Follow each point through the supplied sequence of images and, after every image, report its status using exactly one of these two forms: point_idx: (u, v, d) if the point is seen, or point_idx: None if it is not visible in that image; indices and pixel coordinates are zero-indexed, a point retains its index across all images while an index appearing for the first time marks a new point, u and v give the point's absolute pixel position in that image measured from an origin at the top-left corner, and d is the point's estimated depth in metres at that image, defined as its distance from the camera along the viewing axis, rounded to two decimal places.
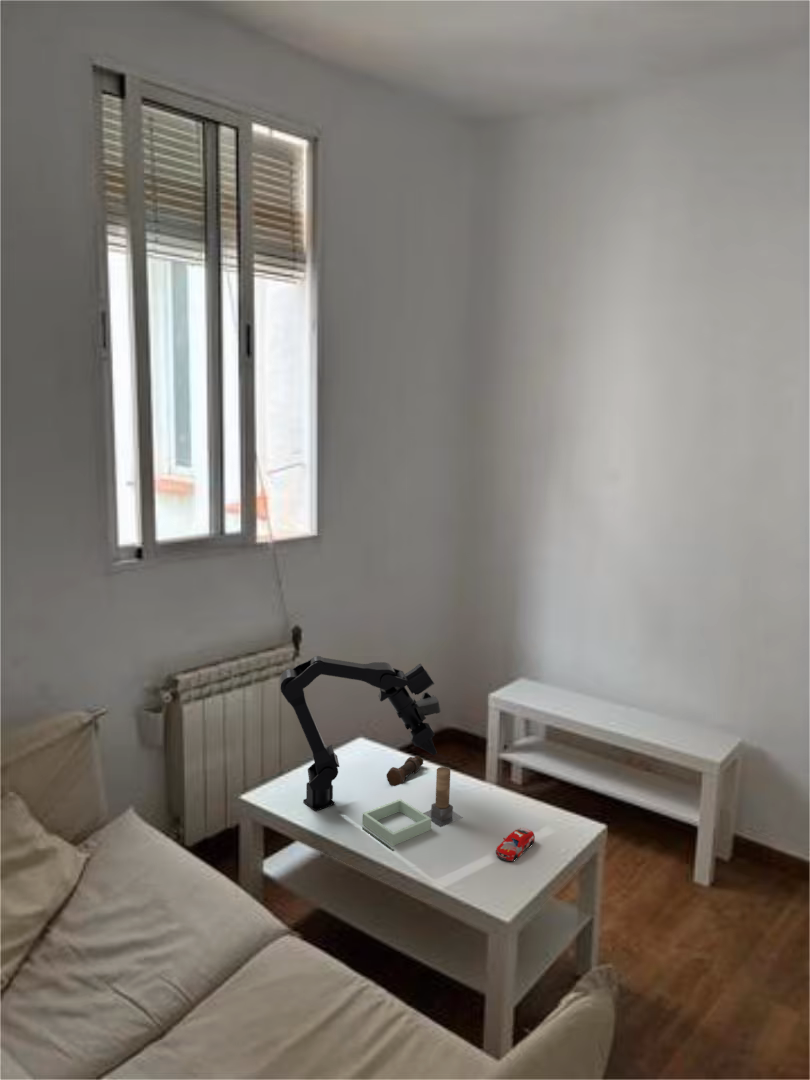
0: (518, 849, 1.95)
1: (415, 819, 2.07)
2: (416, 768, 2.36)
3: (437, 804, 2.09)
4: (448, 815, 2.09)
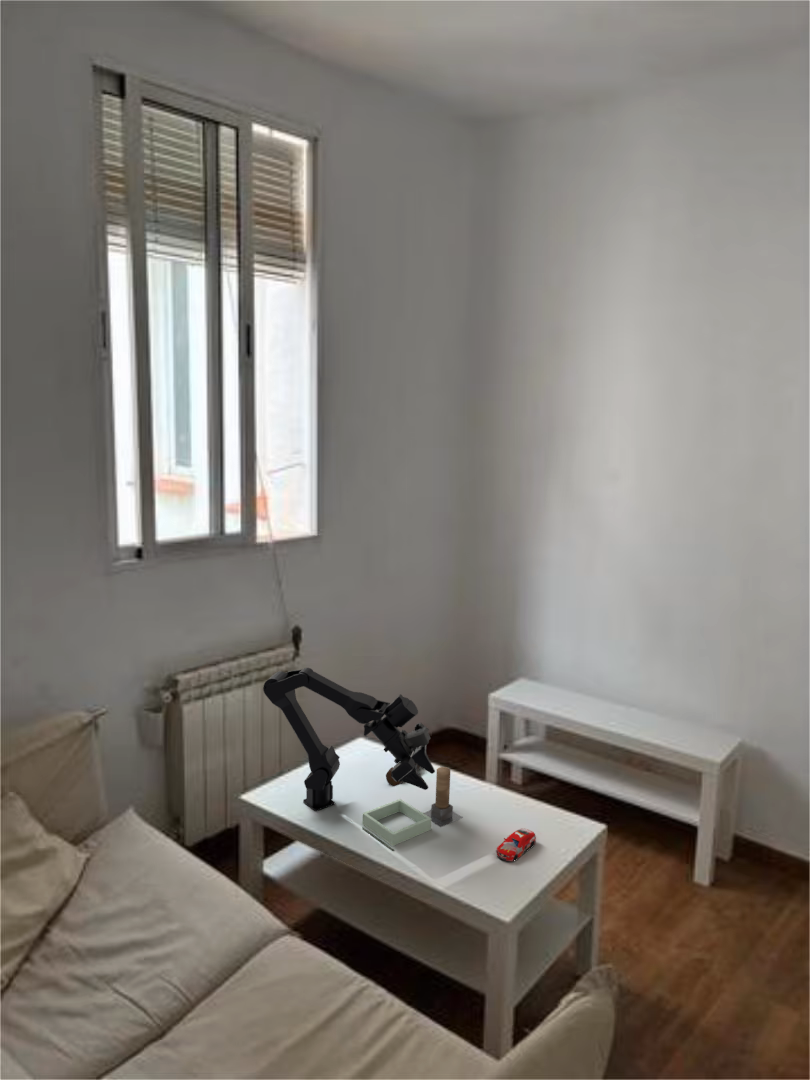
0: (518, 849, 1.95)
1: (415, 819, 2.07)
2: None
3: (437, 804, 2.09)
4: (448, 815, 2.09)
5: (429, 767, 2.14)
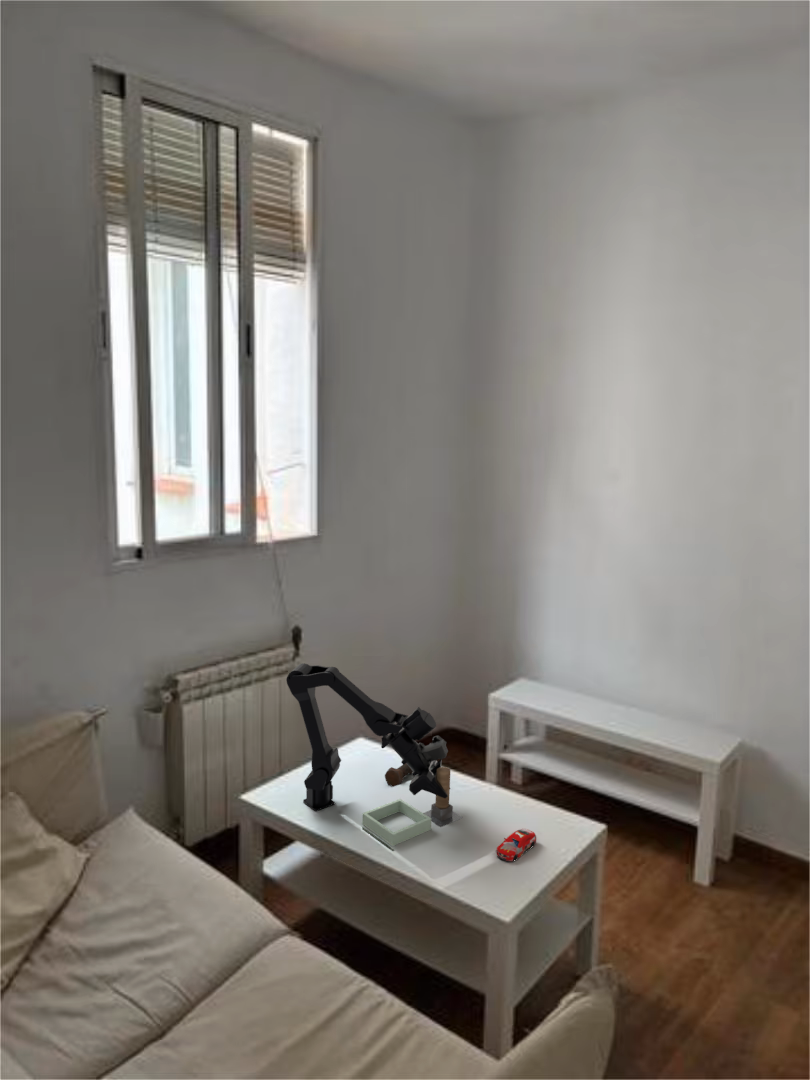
0: (518, 850, 1.95)
1: (415, 819, 2.07)
2: None
3: (437, 804, 2.09)
4: (448, 815, 2.09)
5: None
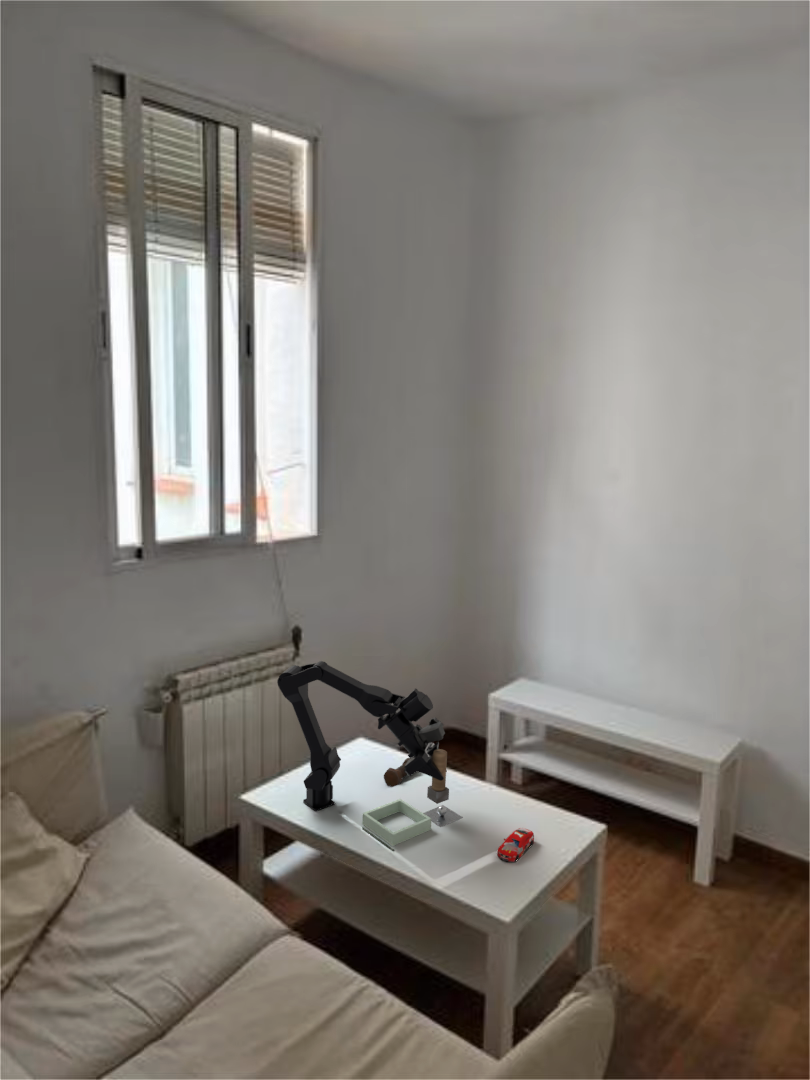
0: (519, 850, 1.95)
1: (415, 819, 2.07)
2: None
3: (433, 786, 2.07)
4: (444, 798, 2.08)
5: None
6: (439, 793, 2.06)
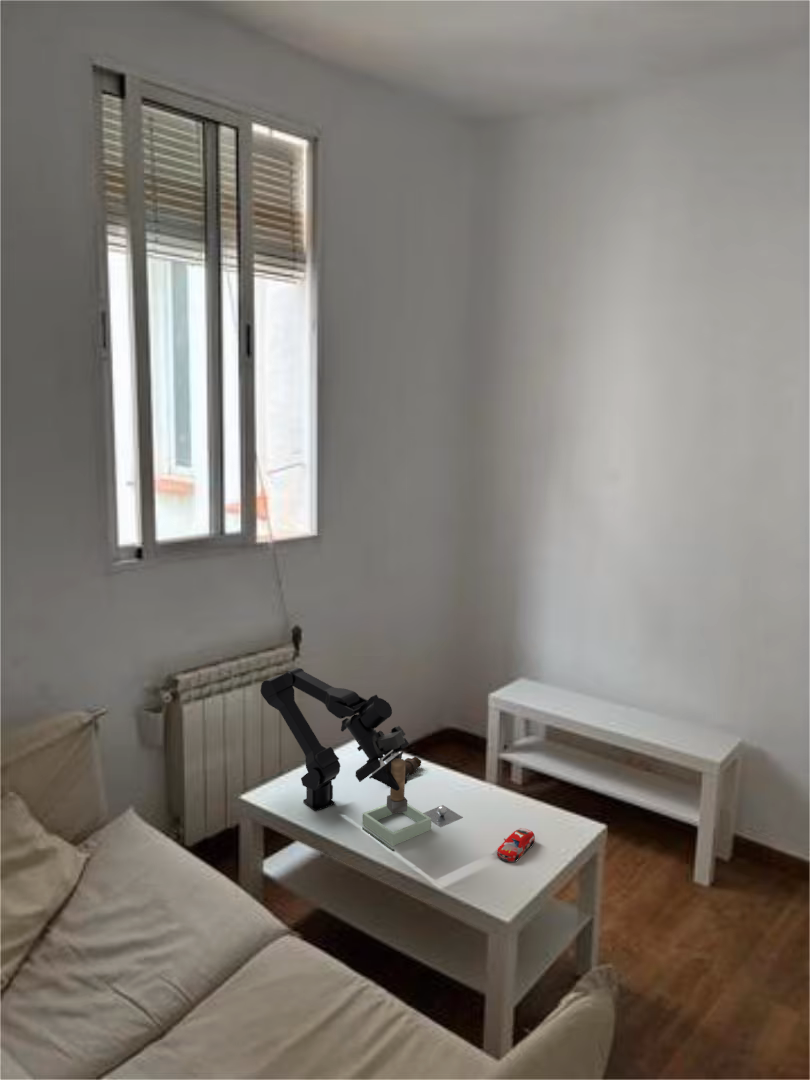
0: (519, 850, 1.95)
1: (415, 819, 2.07)
2: (413, 769, 2.35)
3: (391, 796, 2.03)
4: (401, 809, 2.02)
5: None
6: (395, 803, 2.01)
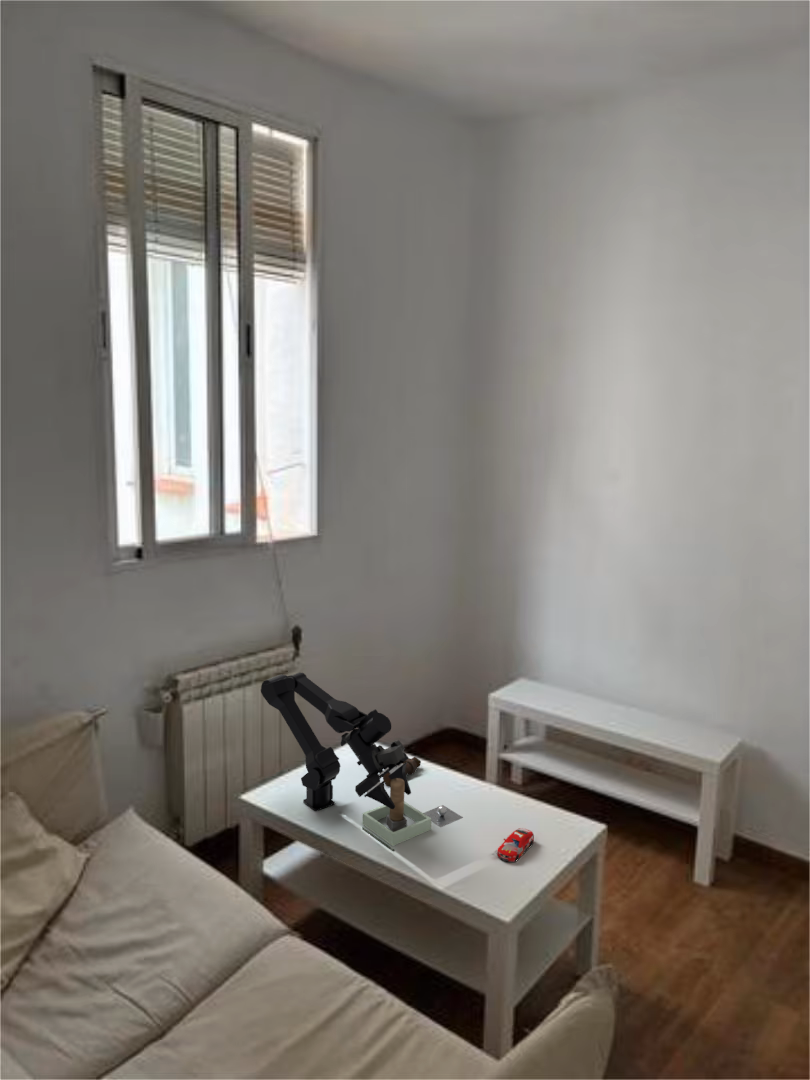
0: (519, 850, 1.95)
1: (415, 819, 2.07)
2: (413, 769, 2.35)
3: (390, 815, 2.04)
4: (401, 828, 2.03)
5: (406, 788, 2.07)
6: (394, 823, 2.02)
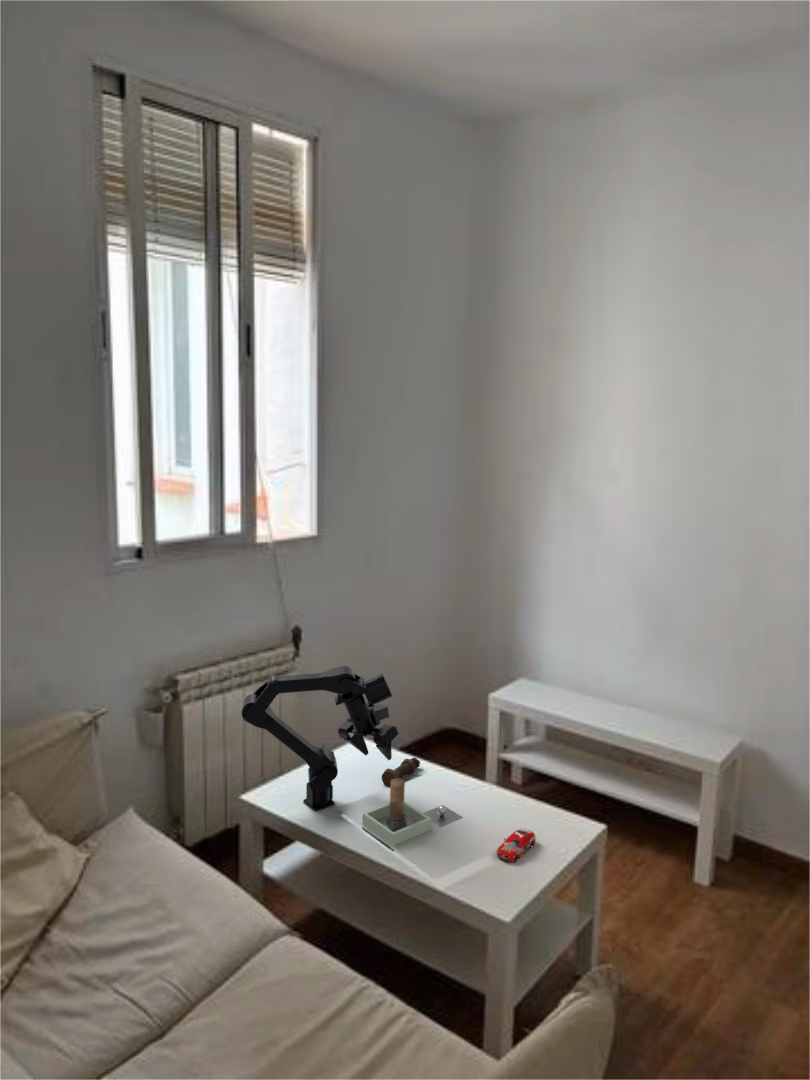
0: (519, 850, 1.95)
1: (415, 819, 2.07)
2: (412, 770, 2.35)
3: (390, 815, 2.04)
4: (401, 828, 2.03)
5: (365, 749, 2.23)
6: (394, 823, 2.02)
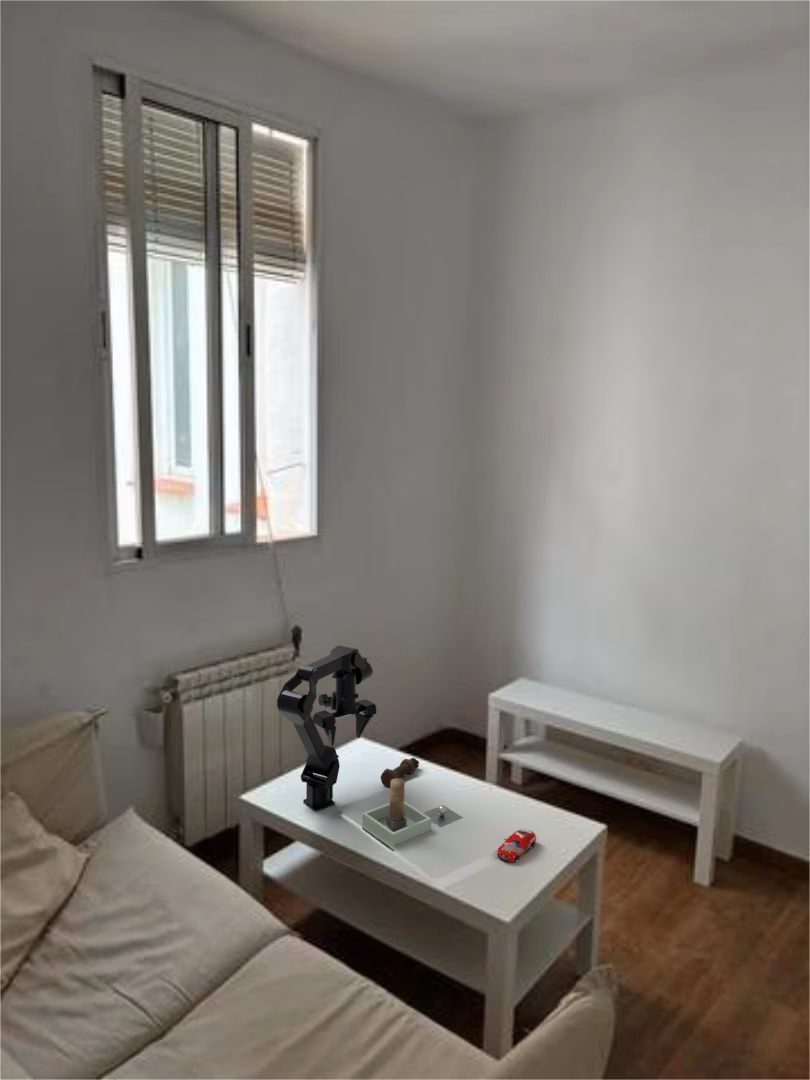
0: (519, 850, 1.95)
1: (415, 819, 2.07)
2: (411, 770, 2.35)
3: (390, 815, 2.04)
4: (401, 828, 2.03)
5: None
6: (394, 823, 2.02)
